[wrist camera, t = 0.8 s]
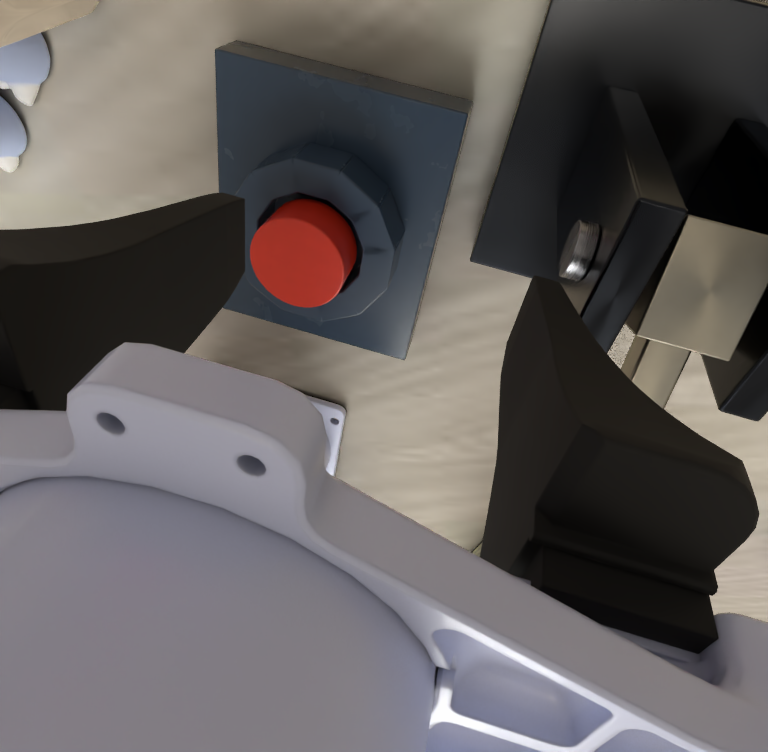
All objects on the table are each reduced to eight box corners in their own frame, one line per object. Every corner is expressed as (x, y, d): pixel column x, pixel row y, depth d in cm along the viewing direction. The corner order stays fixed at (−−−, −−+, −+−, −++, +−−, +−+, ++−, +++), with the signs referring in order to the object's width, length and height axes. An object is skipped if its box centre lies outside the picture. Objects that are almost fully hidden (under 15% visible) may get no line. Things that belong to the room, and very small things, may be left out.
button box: (411, 339, 27) (396, 386, 25) (236, 289, 28) (203, 329, 25) (474, 100, 20) (461, 130, 17) (235, 39, 20) (188, 59, 18)
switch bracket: (710, 313, 23) (788, 519, 15) (472, 248, 23) (431, 415, 16) (903, 34, 16) (1214, 151, 9) (563, -46, 17) (568, -5, 9)
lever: (588, 578, 19) (609, 655, 16) (494, 549, 19) (497, 620, 16) (755, 233, 14) (826, 250, 11) (631, 201, 15) (670, 209, 12)
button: (350, 295, 23) (338, 318, 21) (266, 271, 23) (248, 293, 22) (363, 212, 20) (350, 233, 19) (269, 186, 20) (249, 206, 19)
